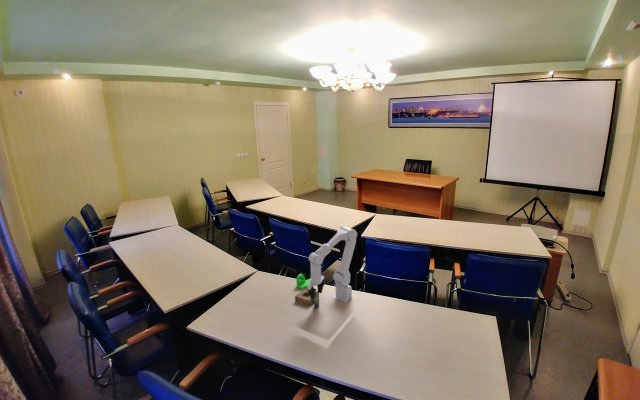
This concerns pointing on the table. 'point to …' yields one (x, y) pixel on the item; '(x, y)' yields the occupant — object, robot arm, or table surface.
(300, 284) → the mechanical part
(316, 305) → the metal peg
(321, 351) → the table surface
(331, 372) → the table surface
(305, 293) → the square wooden ring
